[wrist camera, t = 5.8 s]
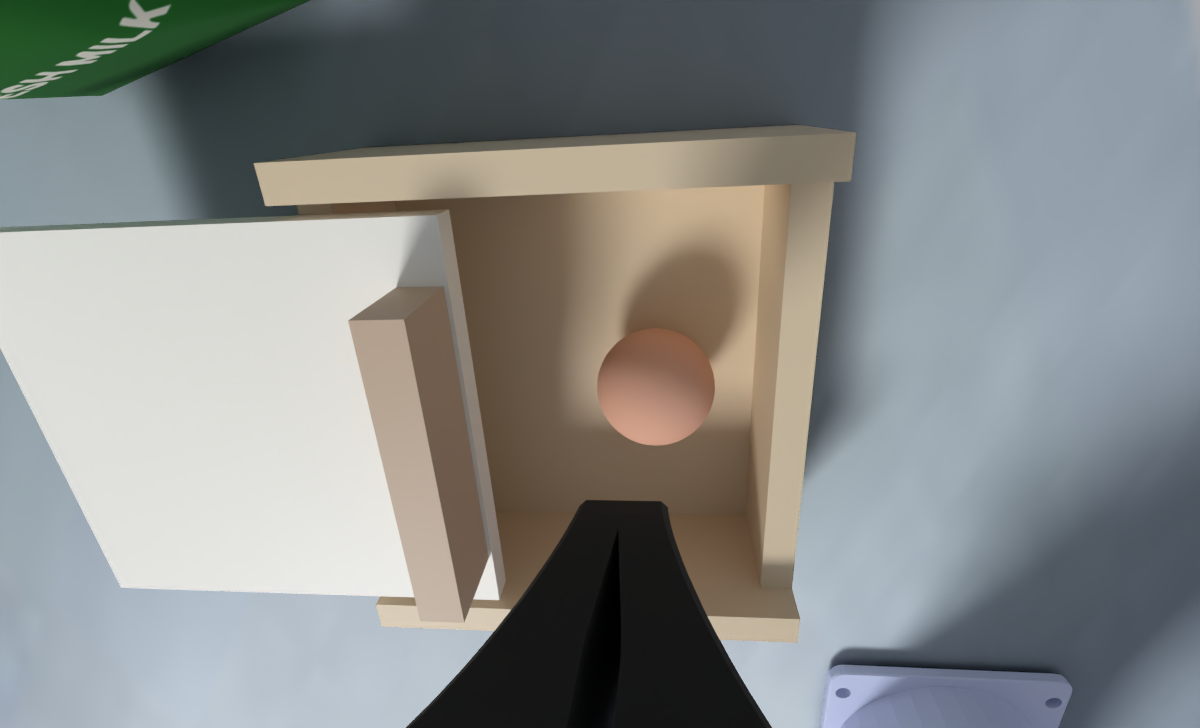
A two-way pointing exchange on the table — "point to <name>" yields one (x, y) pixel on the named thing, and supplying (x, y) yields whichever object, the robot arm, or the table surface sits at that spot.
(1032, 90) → the table surface
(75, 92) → the milk carton
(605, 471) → the box
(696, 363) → the ball
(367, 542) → the lid
